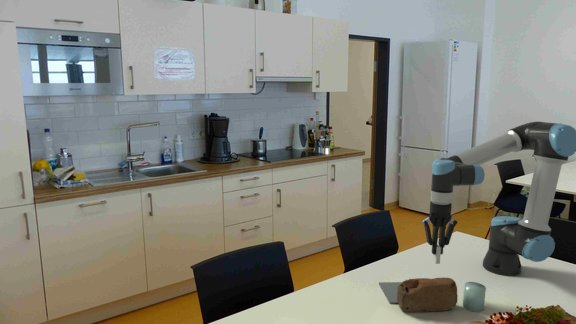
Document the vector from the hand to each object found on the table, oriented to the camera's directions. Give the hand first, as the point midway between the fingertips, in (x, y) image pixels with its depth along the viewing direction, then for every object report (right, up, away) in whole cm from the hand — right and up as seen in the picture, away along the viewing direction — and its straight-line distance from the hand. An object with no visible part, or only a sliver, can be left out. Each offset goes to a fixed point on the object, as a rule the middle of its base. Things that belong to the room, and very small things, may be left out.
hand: (436, 262), depth 163 cm
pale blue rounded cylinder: (+10, -14, -8) cm, 19 cm away
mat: (-11, -12, +2) cm, 17 cm away
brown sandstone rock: (+3, -9, -9) cm, 13 cm away
